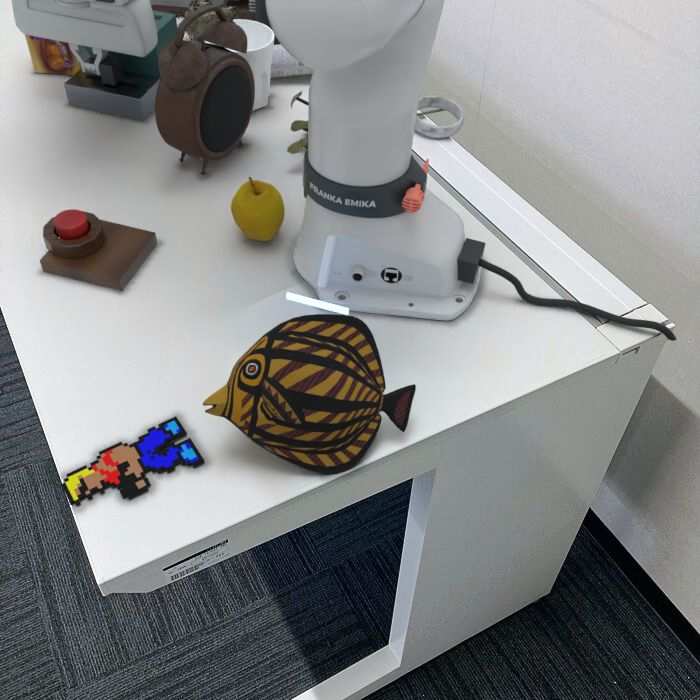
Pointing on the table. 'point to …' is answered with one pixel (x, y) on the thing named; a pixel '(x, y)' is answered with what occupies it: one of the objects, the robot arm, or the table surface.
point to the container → (286, 64)
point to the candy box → (52, 56)
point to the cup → (258, 57)
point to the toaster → (125, 79)
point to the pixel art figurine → (133, 463)
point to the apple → (258, 210)
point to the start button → (71, 224)
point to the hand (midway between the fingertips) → (94, 72)
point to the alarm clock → (205, 89)
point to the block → (98, 252)
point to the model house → (178, 3)
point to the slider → (111, 70)
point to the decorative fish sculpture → (312, 393)
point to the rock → (205, 17)
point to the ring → (445, 105)
